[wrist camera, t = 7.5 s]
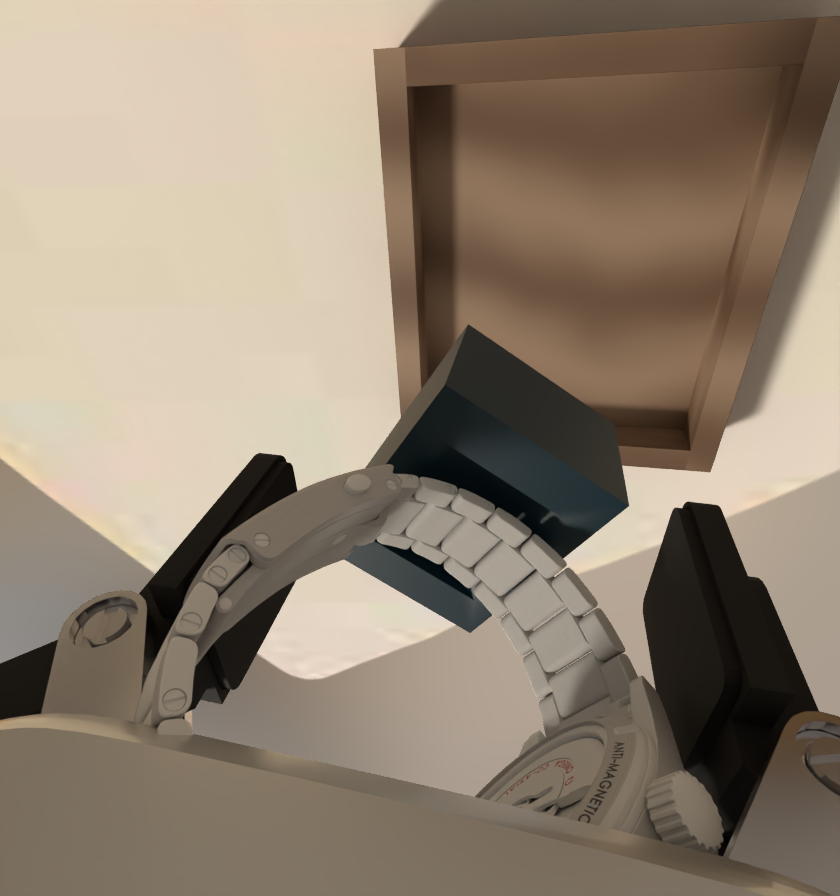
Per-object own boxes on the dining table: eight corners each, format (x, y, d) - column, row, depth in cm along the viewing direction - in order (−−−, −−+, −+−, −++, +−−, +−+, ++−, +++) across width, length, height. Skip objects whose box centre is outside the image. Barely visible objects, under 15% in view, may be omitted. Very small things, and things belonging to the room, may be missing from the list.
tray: (392, 53, 22) (373, 49, 20) (820, 23, 19) (860, 14, 17) (414, 421, 32) (403, 448, 30) (696, 440, 29) (710, 472, 27)
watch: (536, 579, 16) (511, 1177, 7) (309, 439, 15) (-51, 945, 6) (679, 464, 13) (951, 1278, 4) (406, 276, 12) (-52, 834, 3)
